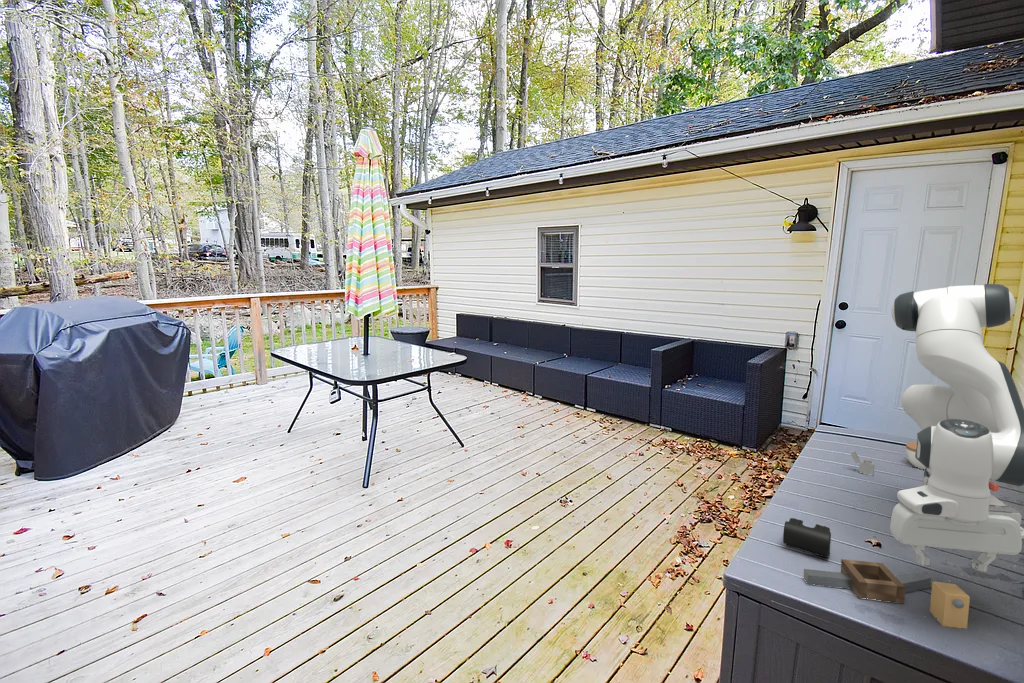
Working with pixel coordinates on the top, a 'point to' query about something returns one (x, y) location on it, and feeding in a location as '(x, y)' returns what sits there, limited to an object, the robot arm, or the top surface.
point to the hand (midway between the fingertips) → (950, 566)
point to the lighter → (863, 464)
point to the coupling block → (949, 604)
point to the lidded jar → (913, 455)
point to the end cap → (807, 537)
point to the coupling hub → (873, 581)
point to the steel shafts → (844, 580)
